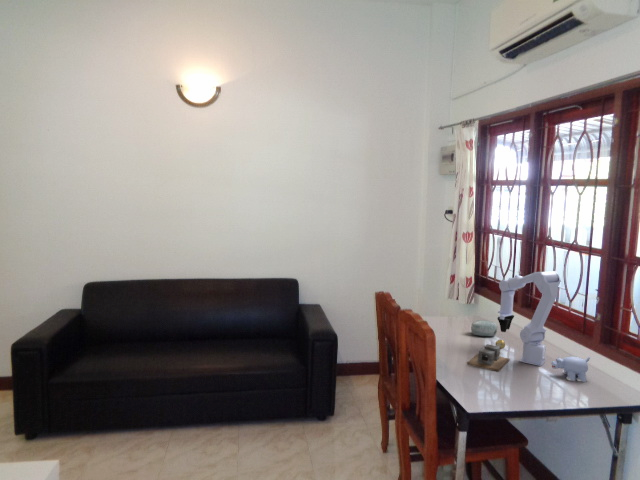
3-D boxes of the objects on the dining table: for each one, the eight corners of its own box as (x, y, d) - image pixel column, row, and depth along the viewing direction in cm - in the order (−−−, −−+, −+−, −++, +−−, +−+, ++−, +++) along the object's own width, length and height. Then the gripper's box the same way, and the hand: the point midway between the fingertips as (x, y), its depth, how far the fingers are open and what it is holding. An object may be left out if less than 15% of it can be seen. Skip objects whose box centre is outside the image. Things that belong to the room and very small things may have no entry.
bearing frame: (509, 360, 232) (510, 347, 231) (498, 371, 218) (499, 357, 217) (479, 354, 240) (480, 341, 239) (467, 364, 226) (467, 350, 225)
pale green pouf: (497, 327, 273) (494, 313, 268) (499, 339, 265) (497, 326, 260) (471, 330, 277) (468, 317, 272) (473, 343, 269) (470, 329, 264)
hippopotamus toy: (548, 369, 222) (550, 349, 220) (585, 373, 218) (587, 352, 217) (554, 379, 211) (555, 357, 210) (592, 383, 208) (594, 361, 207)
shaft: (505, 349, 242) (505, 340, 241) (490, 362, 224) (491, 352, 224) (495, 347, 245) (496, 338, 244) (481, 360, 227) (481, 350, 226)
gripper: (502, 299, 254) (501, 325, 255) (494, 305, 242) (492, 332, 244) (517, 301, 249) (515, 328, 251) (509, 307, 238) (507, 335, 239)
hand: (505, 330), depth 247 cm, fingers open, 5 cm apart
